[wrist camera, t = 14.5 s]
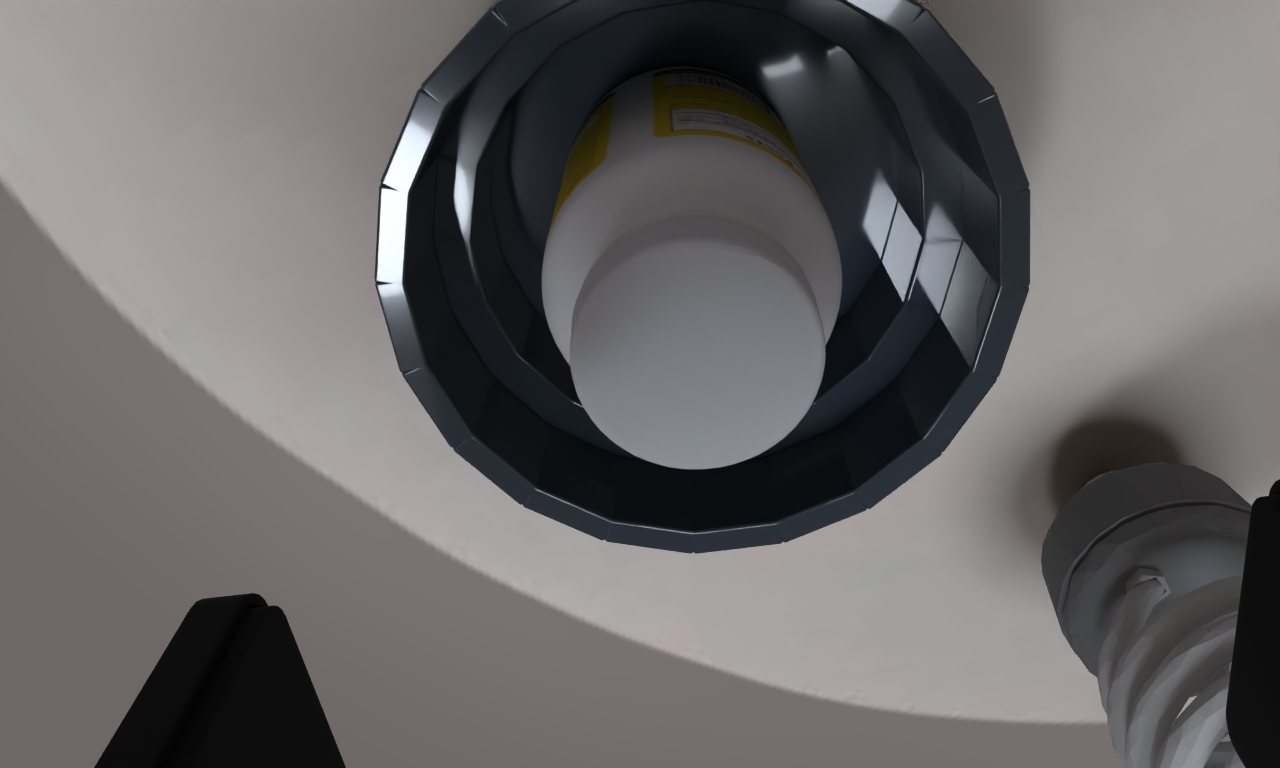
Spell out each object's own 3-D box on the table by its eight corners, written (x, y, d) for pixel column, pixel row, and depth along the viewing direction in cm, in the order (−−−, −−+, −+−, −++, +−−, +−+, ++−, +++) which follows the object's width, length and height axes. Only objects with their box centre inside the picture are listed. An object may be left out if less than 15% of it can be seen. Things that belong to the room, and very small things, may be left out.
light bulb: (957, 521, 30) (1121, 900, 19) (1091, 364, 28) (1359, 694, 17) (1116, 604, 31) (1352, 1004, 21) (1255, 459, 29) (1603, 823, 18)
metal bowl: (375, -37, 24) (292, 0, 18) (945, -133, 23) (1033, -125, 17) (496, 447, 29) (459, 582, 24) (959, 387, 28) (1030, 514, 23)
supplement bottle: (619, 317, 27) (598, 548, 18) (530, 114, 25) (458, 265, 16) (828, 243, 26) (912, 447, 17) (755, 24, 24) (809, 132, 15)
